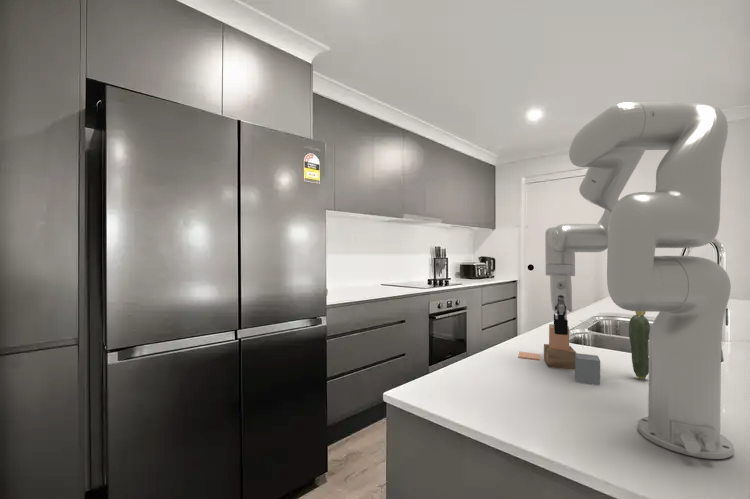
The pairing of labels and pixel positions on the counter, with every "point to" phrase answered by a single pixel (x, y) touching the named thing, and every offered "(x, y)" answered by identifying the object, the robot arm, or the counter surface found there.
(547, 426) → the counter surface
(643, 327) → the vegetable
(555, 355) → the base block
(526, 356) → the tile
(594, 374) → the slate cube
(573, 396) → the counter surface
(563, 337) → the terracotta cube
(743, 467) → the counter surface
